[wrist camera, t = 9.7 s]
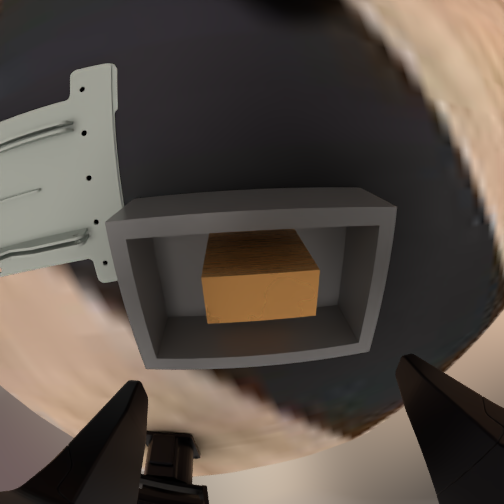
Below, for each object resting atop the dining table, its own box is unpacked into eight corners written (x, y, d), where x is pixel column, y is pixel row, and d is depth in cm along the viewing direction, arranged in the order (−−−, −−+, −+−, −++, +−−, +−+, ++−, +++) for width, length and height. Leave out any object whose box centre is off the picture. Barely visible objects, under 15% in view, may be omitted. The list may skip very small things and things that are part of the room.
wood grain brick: (287, 299, 21) (309, 368, 15) (218, 304, 21) (216, 375, 14) (288, 220, 19) (319, 269, 12) (210, 224, 18) (201, 277, 12)
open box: (345, 311, 22) (369, 351, 18) (159, 324, 22) (145, 369, 17) (359, 187, 18) (397, 206, 14) (134, 198, 18) (104, 222, 13)
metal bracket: (-13, 313, 14) (-55, 116, 8) (11, 279, 19) (-19, 117, 13) (154, 284, 19) (130, 52, 13) (150, 252, 24) (133, 73, 18)
